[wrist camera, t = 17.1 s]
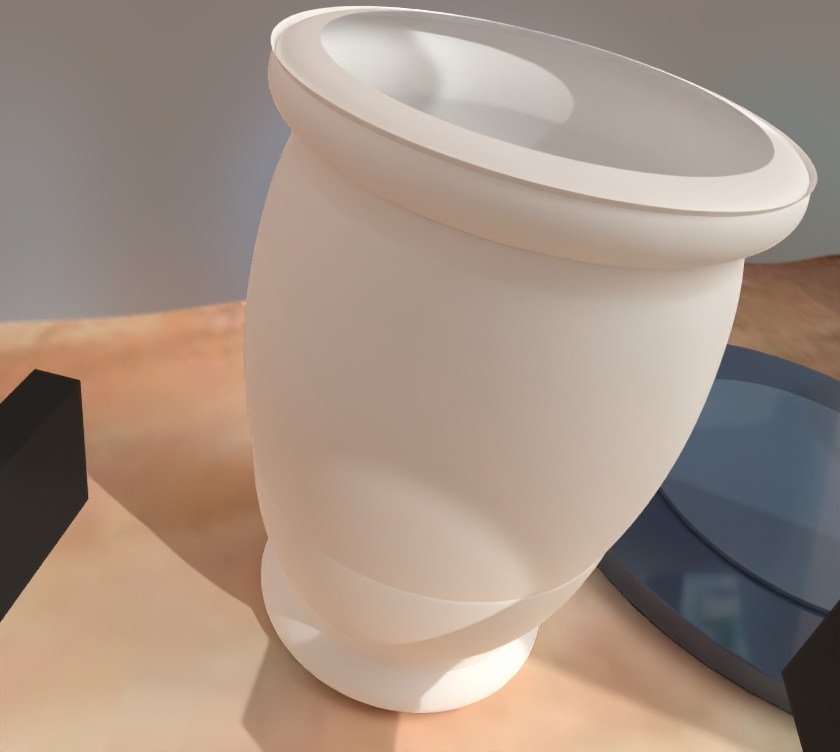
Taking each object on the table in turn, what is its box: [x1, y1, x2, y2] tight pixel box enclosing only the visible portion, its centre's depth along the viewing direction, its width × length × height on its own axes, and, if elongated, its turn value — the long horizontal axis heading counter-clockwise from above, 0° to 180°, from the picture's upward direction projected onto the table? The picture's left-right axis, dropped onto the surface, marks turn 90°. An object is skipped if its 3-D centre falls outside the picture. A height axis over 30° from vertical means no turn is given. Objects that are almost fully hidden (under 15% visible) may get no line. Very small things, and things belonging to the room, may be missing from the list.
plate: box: [598, 344, 840, 713], centre depth 30 cm, size 20×20×1 cm
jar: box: [244, 6, 817, 713], centre depth 19 cm, size 11×10×15 cm
